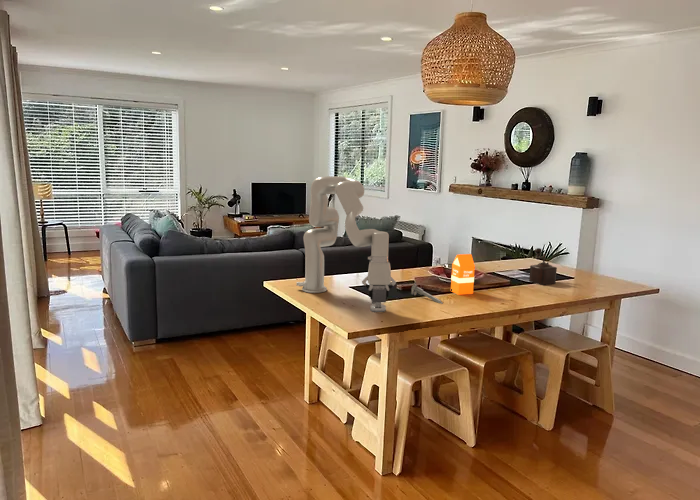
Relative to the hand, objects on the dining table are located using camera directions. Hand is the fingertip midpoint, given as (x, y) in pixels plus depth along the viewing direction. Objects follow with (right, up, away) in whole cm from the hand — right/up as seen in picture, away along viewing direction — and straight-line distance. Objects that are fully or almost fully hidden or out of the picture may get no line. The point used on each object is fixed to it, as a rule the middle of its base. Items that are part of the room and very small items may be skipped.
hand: (378, 298), depth 243 cm
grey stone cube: (0, -1, 0) cm, 1 cm away
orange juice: (+45, 0, +36) cm, 58 cm away
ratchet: (-1, -4, +8) cm, 9 cm away
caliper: (+25, -3, +22) cm, 33 cm away
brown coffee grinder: (+95, +4, +64) cm, 114 cm away
